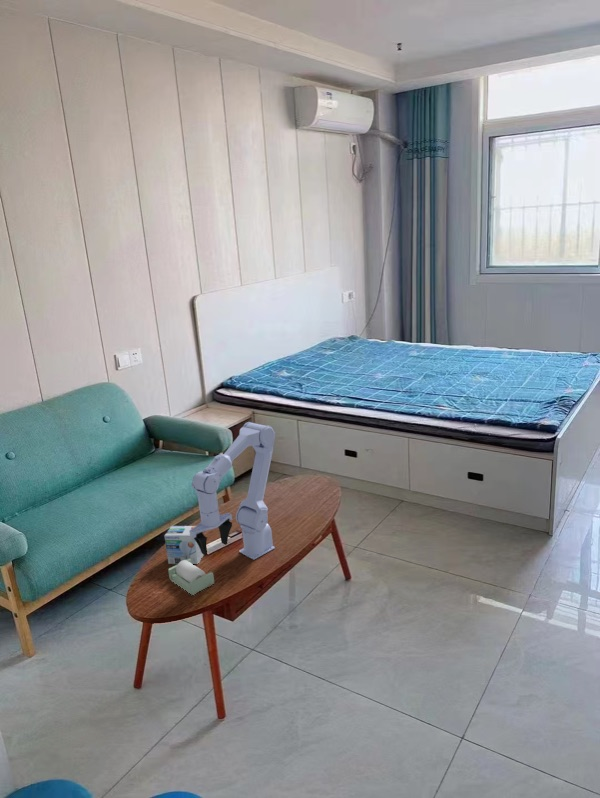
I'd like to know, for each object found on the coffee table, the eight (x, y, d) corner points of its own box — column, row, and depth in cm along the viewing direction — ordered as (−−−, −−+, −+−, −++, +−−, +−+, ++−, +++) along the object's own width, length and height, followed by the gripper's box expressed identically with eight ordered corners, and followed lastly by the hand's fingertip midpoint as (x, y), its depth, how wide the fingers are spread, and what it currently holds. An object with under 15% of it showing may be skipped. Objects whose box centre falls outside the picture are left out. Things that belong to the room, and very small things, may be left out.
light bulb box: (167, 564, 194) (163, 535, 191) (174, 553, 201) (170, 525, 197) (198, 564, 192) (194, 535, 189) (204, 553, 199) (201, 525, 196)
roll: (176, 577, 184) (174, 563, 183) (189, 571, 188) (188, 557, 186) (192, 589, 178) (191, 574, 177) (206, 582, 181) (205, 568, 180)
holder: (169, 580, 185) (168, 569, 184) (191, 569, 190) (189, 558, 189) (192, 596, 176) (191, 584, 175) (214, 584, 181) (213, 572, 180)
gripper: (220, 497, 186) (225, 535, 190) (181, 514, 177) (187, 553, 181) (234, 503, 181) (238, 542, 185) (194, 521, 172) (200, 562, 176)
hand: (214, 548), depth 183 cm, fingers open, 7 cm apart
